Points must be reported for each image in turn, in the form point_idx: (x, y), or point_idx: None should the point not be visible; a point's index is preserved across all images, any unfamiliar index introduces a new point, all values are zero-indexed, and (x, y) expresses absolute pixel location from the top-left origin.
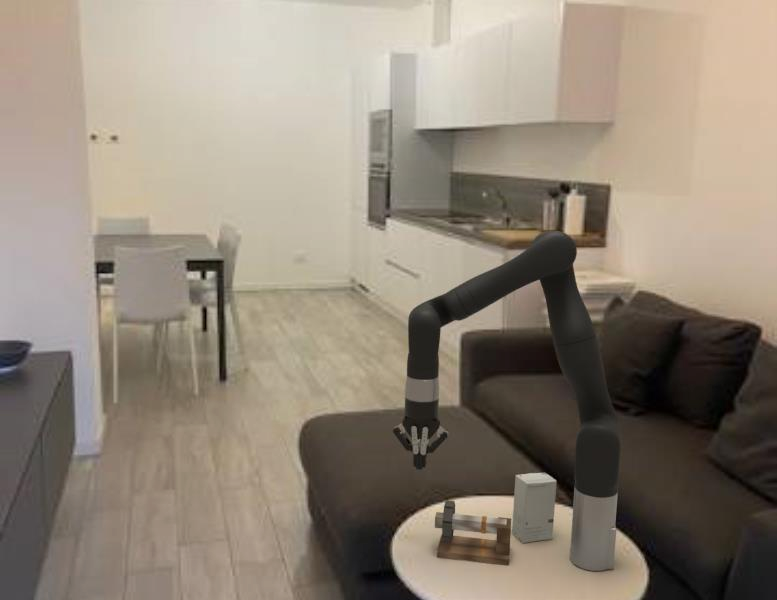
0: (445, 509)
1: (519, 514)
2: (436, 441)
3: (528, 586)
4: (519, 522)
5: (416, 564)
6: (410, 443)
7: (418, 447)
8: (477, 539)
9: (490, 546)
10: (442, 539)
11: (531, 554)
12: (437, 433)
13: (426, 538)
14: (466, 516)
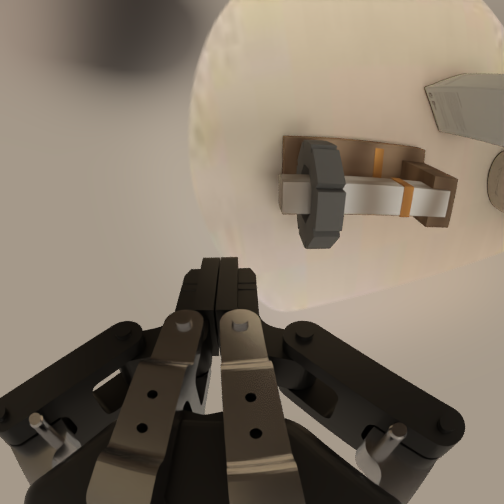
0: (318, 238)
1: (466, 119)
2: (341, 435)
3: (422, 263)
4: (455, 119)
5: (244, 242)
6: (135, 368)
7: (206, 385)
8: (366, 148)
9: (390, 174)
10: (297, 214)
11: (446, 168)
12: (363, 467)
13: (247, 134)
14: (366, 193)
